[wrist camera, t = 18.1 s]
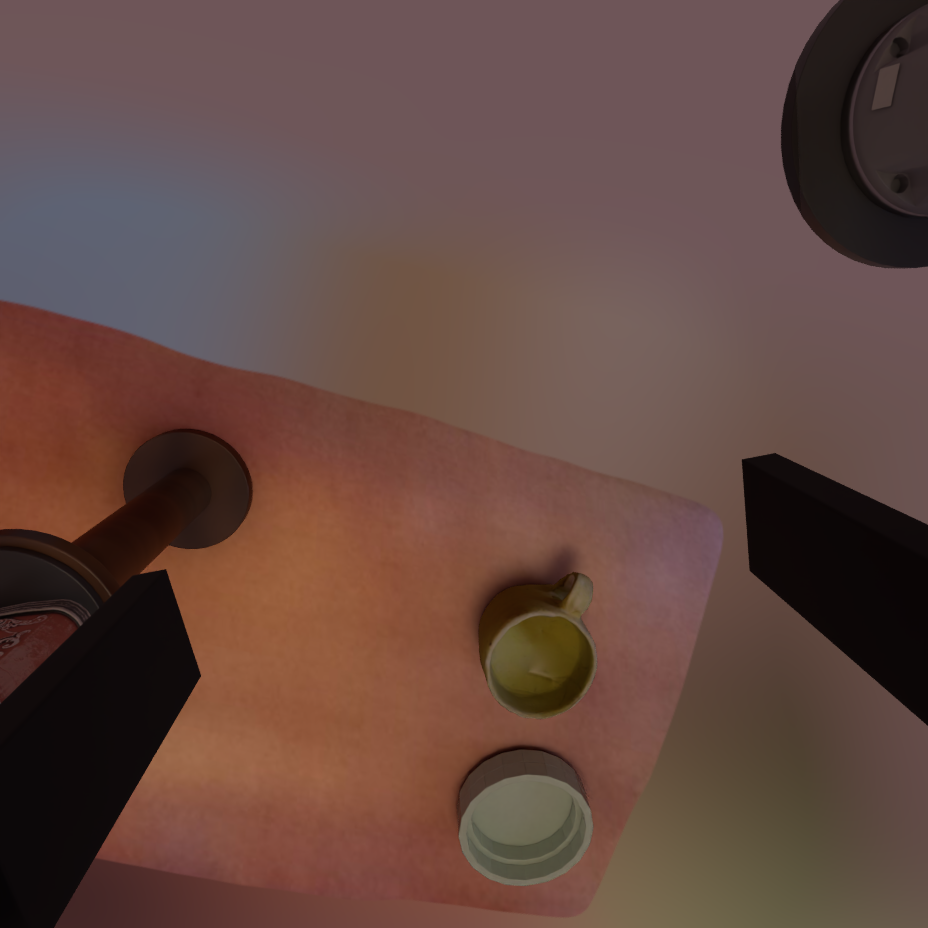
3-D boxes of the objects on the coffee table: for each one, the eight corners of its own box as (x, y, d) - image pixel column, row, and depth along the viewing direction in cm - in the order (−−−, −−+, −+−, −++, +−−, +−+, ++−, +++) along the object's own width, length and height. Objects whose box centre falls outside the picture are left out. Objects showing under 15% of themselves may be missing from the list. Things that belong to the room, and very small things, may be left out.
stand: (234, 418, 53) (80, 521, 30) (266, 531, 56) (148, 709, 32) (113, 441, 53) (-139, 562, 30) (150, 553, 56) (-53, 747, 32)
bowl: (573, 734, 63) (583, 763, 59) (590, 837, 66) (600, 871, 62) (446, 759, 63) (448, 789, 59) (469, 861, 66) (472, 896, 62)
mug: (538, 716, 60) (546, 753, 50) (454, 639, 61) (445, 660, 51) (626, 614, 60) (651, 631, 50) (541, 540, 61) (549, 542, 51)
